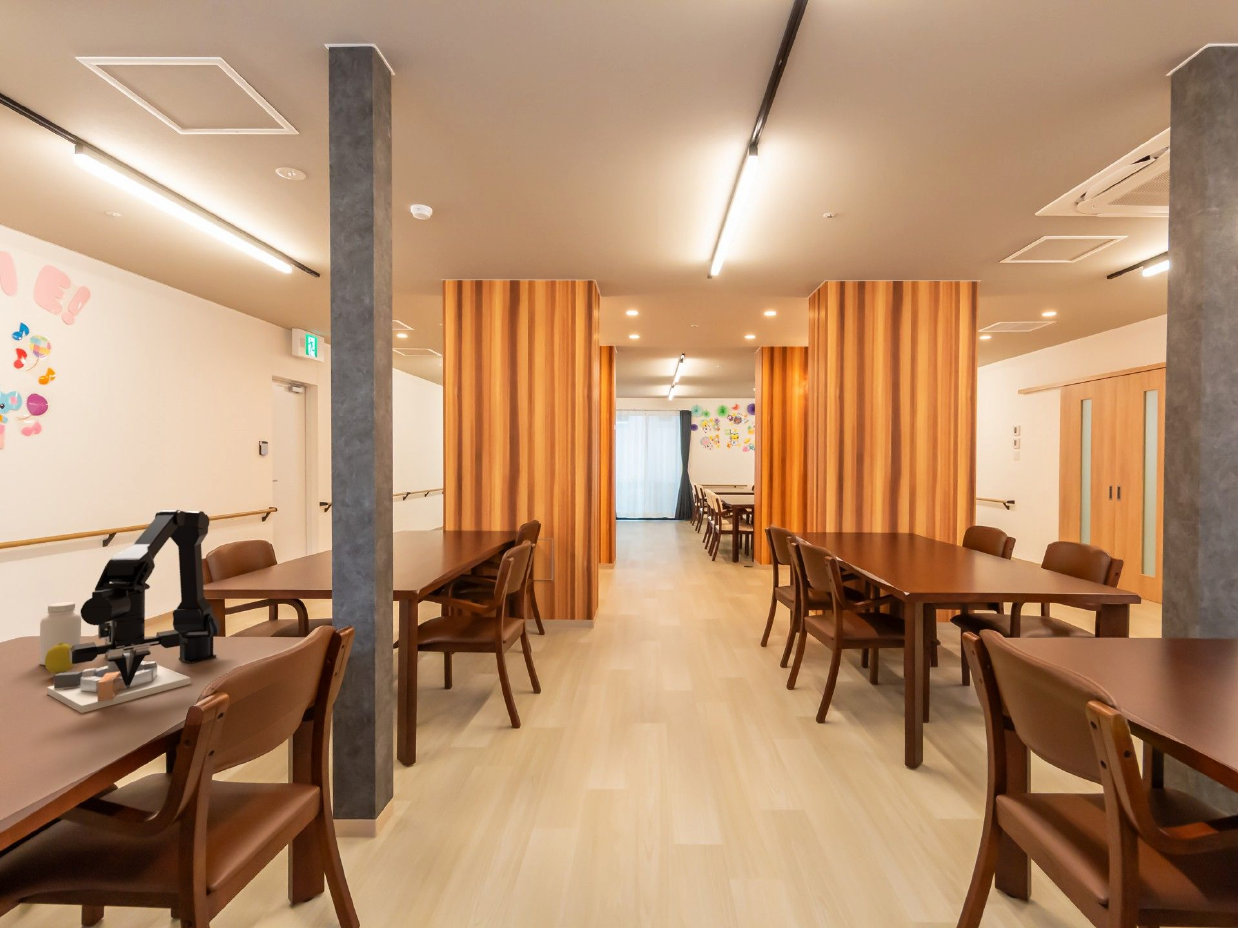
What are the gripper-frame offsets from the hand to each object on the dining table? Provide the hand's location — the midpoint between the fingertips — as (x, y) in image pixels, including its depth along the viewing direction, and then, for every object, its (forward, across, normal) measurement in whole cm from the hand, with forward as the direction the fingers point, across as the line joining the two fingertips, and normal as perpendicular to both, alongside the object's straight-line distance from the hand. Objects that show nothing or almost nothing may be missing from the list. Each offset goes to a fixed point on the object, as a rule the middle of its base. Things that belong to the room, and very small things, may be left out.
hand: (127, 684), depth 133 cm
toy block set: (+2, +1, -7) cm, 7 cm away
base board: (+3, 0, -10) cm, 11 cm away
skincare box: (+3, -4, -40) cm, 41 cm away
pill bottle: (+3, +8, -46) cm, 47 cm away
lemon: (+3, +9, -32) cm, 33 cm away
